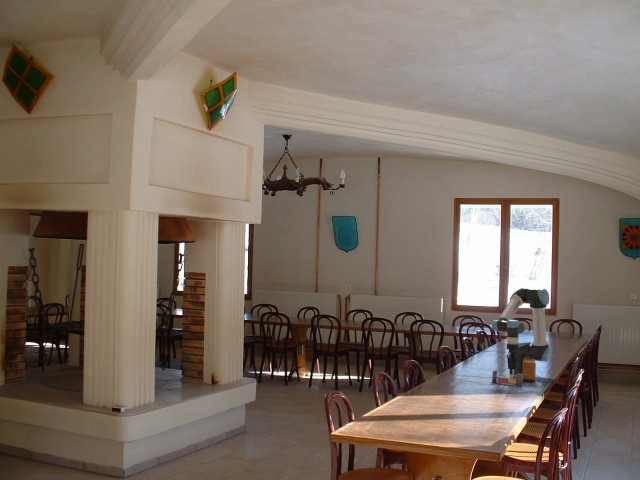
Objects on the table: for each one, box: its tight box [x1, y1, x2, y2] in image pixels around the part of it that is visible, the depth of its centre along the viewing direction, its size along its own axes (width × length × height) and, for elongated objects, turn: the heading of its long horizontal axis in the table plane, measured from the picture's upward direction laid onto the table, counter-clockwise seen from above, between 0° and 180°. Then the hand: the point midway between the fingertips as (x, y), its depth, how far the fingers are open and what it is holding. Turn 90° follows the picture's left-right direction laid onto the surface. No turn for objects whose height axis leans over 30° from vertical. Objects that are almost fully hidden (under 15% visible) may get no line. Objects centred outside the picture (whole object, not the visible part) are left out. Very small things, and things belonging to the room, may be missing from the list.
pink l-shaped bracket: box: [496, 375, 517, 387], centre depth 465 cm, size 2×13×6 cm, turn 54°
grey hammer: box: [507, 374, 524, 388], centre depth 461 cm, size 4×8×8 cm, turn 52°
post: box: [490, 370, 498, 384], centre depth 470 cm, size 4×4×8 cm
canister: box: [519, 352, 537, 384], centre depth 479 cm, size 9×11×20 cm
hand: (511, 378), depth 466 cm, fingers closed
